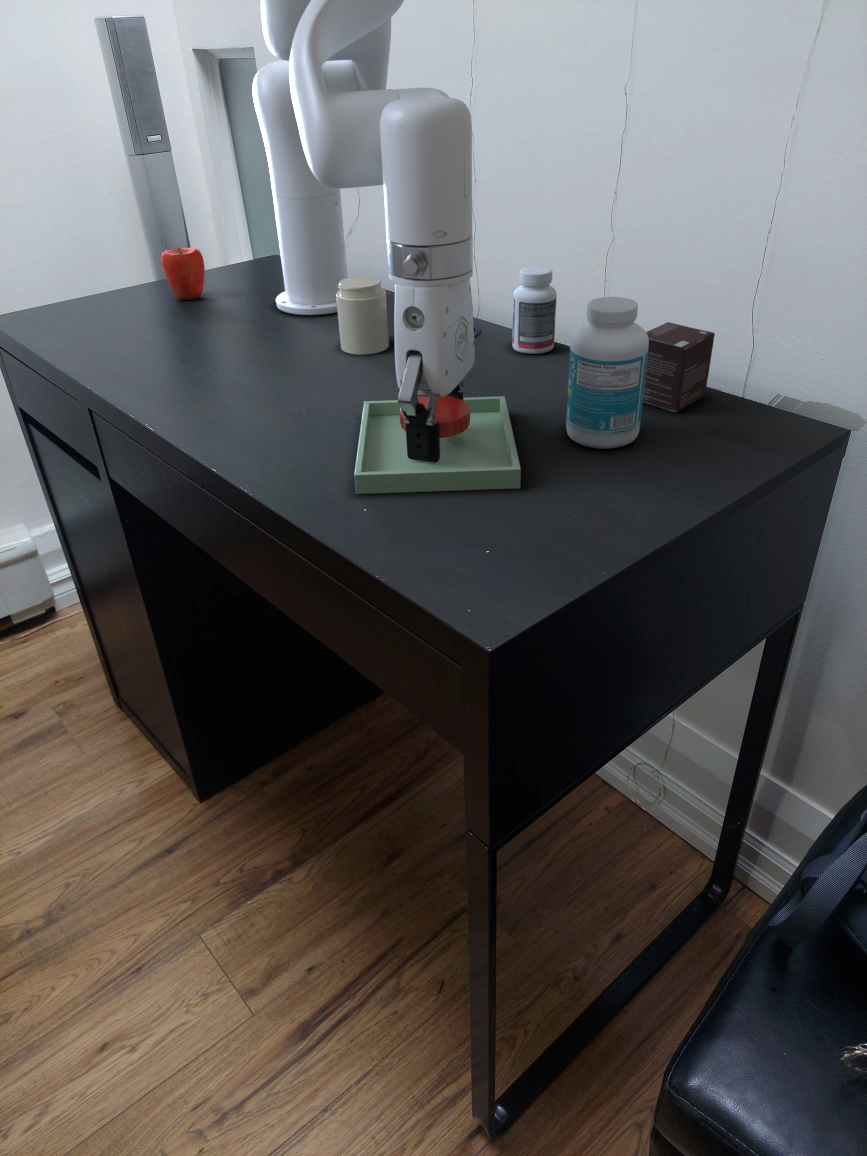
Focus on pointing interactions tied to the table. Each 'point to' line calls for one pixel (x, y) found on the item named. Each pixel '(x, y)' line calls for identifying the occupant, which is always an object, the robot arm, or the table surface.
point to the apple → (184, 272)
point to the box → (677, 366)
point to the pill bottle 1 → (534, 311)
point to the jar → (362, 315)
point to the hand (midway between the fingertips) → (436, 442)
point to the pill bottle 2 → (607, 375)
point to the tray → (464, 458)
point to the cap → (447, 415)
